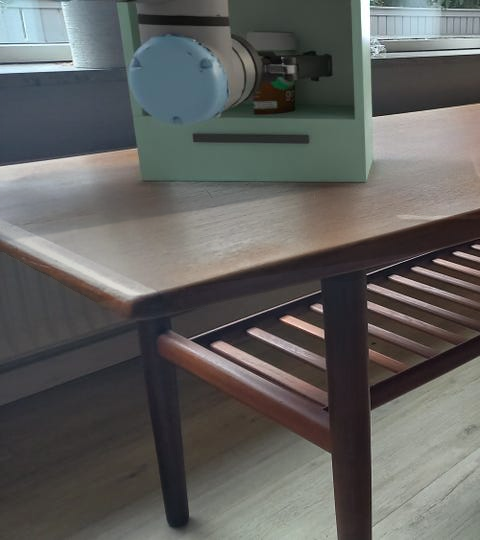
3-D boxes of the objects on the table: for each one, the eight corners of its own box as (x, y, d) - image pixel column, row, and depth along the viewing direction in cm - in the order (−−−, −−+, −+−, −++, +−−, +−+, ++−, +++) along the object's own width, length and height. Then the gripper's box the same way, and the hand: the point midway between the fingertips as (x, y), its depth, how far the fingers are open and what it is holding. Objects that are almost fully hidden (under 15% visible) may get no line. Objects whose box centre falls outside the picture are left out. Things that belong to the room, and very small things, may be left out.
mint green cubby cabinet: (366, 183, 89) (359, -28, 80) (139, 181, 86) (108, -37, 78) (373, 159, 104) (368, -20, 96) (181, 157, 102) (159, -27, 93)
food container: (303, 116, 88) (298, 33, 85) (253, 116, 87) (246, 32, 83) (304, 104, 99) (299, 31, 96) (259, 104, 98) (253, 30, 95)
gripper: (100, 105, 72) (168, 87, 92) (341, 110, 74) (357, 91, 94) (88, 29, 69) (160, 27, 89) (339, 36, 72) (355, 33, 92)
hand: (261, 60), depth 92 cm, fingers open, 13 cm apart
